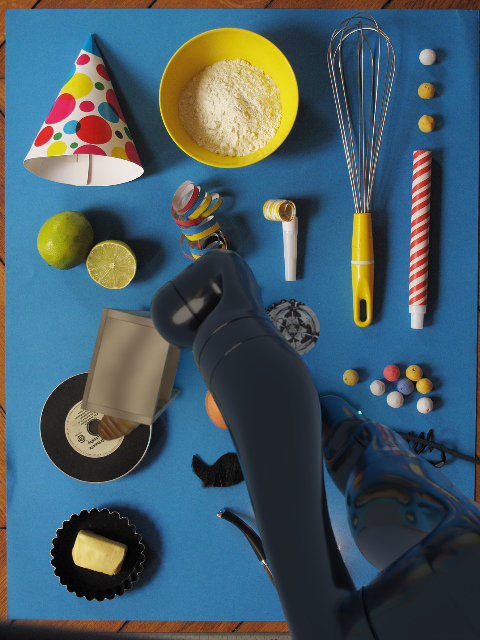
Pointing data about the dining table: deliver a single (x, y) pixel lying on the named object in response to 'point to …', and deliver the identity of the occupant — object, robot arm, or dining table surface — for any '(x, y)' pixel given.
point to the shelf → (130, 368)
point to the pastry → (115, 427)
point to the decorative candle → (295, 323)
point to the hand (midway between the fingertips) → (224, 307)
